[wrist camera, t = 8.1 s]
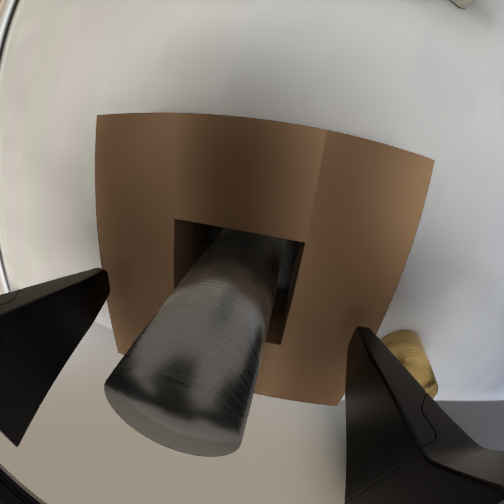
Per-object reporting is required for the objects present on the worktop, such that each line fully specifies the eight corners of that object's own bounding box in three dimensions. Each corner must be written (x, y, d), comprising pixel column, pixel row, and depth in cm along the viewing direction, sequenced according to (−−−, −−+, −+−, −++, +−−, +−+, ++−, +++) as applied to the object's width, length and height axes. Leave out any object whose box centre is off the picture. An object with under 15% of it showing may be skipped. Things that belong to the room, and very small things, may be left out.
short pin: (428, 332, 14) (448, 379, 11) (407, 368, 16) (419, 414, 12) (385, 327, 15) (400, 377, 11) (366, 364, 16) (373, 414, 12)
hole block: (397, 151, 11) (434, 160, 7) (334, 354, 16) (336, 406, 12) (148, 115, 12) (97, 115, 9) (149, 313, 17) (118, 352, 14)
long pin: (289, 220, 13) (250, 405, 4) (278, 279, 15) (234, 466, 6) (223, 208, 14) (89, 352, 5) (218, 267, 15) (121, 428, 6)
